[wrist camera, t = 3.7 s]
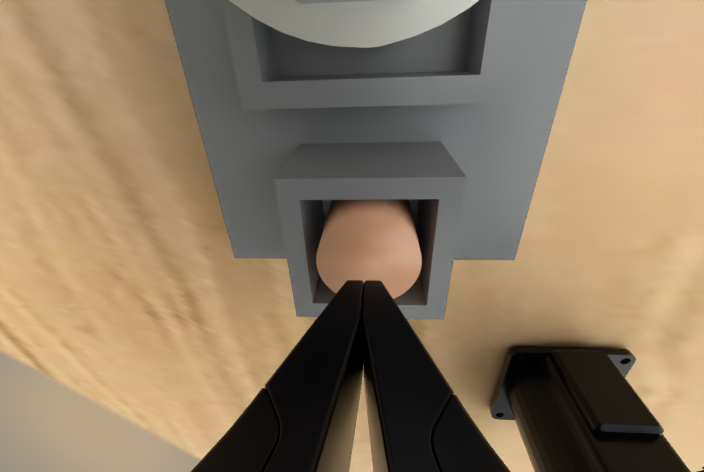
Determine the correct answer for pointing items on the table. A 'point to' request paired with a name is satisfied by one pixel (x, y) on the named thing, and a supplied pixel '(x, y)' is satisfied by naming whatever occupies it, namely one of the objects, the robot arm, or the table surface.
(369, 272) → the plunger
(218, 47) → the housing
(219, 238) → the table surface
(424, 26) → the cartridge
